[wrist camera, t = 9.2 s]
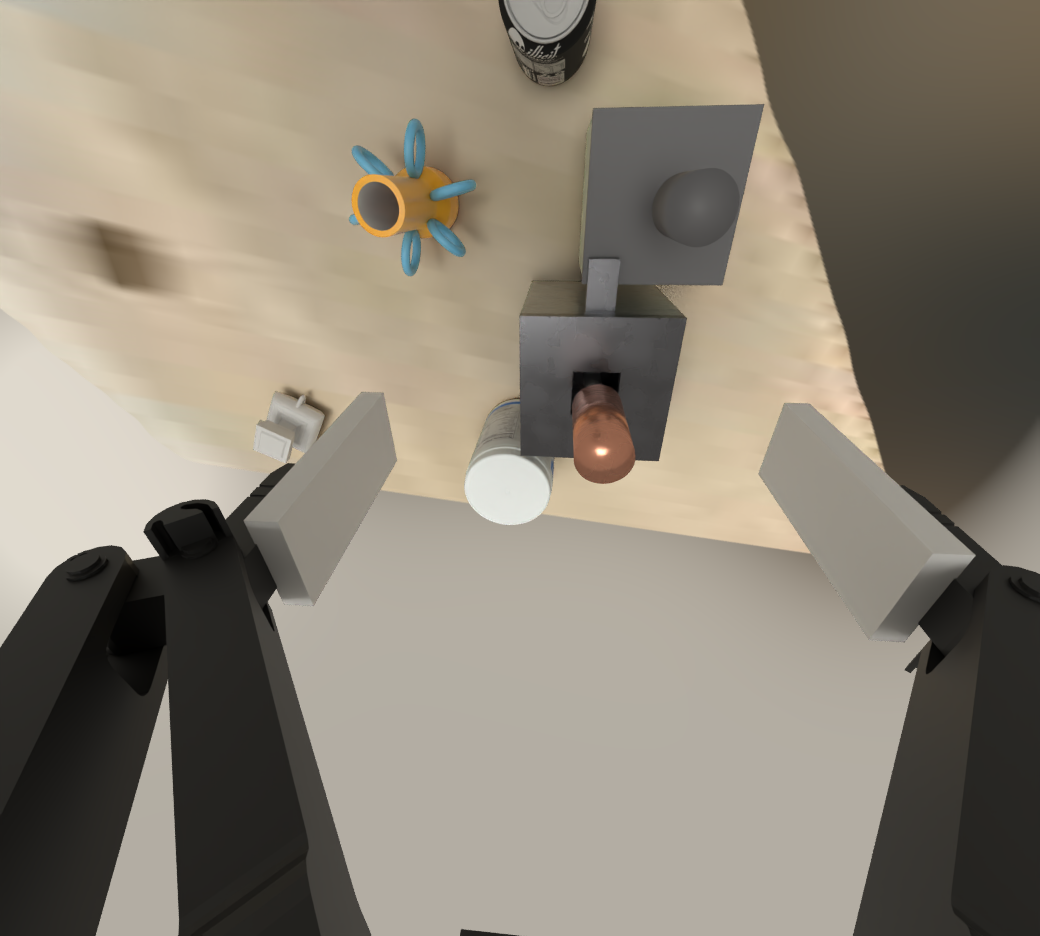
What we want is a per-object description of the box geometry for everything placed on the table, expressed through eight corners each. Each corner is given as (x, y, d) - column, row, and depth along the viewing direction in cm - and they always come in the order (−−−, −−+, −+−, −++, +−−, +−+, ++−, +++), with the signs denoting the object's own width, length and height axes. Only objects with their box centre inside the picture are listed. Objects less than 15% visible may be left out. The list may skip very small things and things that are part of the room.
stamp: (287, 376, 57) (248, 402, 50) (335, 400, 58) (304, 429, 51) (273, 428, 61) (236, 459, 54) (318, 449, 63) (287, 482, 56)
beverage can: (570, -40, 35) (572, -135, 25) (601, 57, 37) (615, 8, 27) (499, 16, 37) (475, -49, 27) (534, 104, 40) (524, 75, 30)
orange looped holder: (508, 205, 44) (486, 211, 32) (447, 284, 49) (406, 317, 36) (411, 101, 40) (342, 61, 28) (355, 198, 45) (274, 200, 32)
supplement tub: (567, 442, 58) (568, 510, 46) (508, 469, 62) (494, 539, 49) (532, 382, 54) (523, 439, 42) (470, 414, 57) (445, 476, 45)
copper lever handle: (571, 342, 43) (575, 430, 27) (611, 343, 43) (639, 432, 27) (569, 380, 46) (572, 482, 30) (607, 381, 45) (631, 484, 29)
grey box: (532, 241, 46) (519, 262, 32) (657, 241, 45) (697, 263, 31) (531, 390, 55) (520, 455, 41) (635, 393, 54) (658, 461, 40)
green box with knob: (585, 130, 40) (606, 70, 20) (708, 128, 39) (859, 62, 19) (577, 262, 46) (588, 317, 26) (684, 262, 45) (779, 319, 25)
